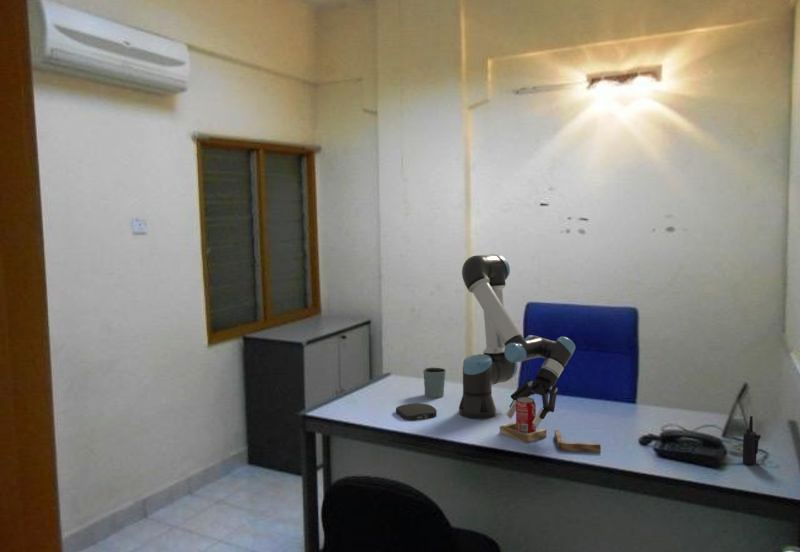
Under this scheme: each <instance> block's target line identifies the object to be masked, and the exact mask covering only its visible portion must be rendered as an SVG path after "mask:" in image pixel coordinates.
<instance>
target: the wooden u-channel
mask: <svg viewBox="0 0 800 552" xmlns="http://www.w3.org/2000/svg"><path fill="white" fill-rule="evenodd" d="M499 434H501V435H504V436H506V437H509V438H512V439H514V440H516V441H520V442H522V443H525V444H527V443H531V442H534V441H536V440H539V439H543V438H546V437H547V429H545V428H540V429H538V430H536V431H534V432H531V433H528V434H524V433H522V432H519V431H516V421H514V422H510V423H507V424H503V425H500V426H499Z"/></svg>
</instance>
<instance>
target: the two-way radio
mask: <svg viewBox="0 0 800 552" xmlns="http://www.w3.org/2000/svg"><path fill="white" fill-rule="evenodd" d="M753 421H754V420H753V416H752V415H750V416H749V424H748V428H746V431H745V432H743V439H742V441H743V442H742V463H743V464H746V465H754V464H756V463H757V455H758V452H759V442H760V439H761V437H762V436H761V434H757V432H755V431H753V430H754V429H753V428H754V427H753V425H754V424H753V423H754V422H753Z"/></svg>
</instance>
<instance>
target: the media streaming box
mask: <svg viewBox="0 0 800 552" xmlns="http://www.w3.org/2000/svg"><path fill="white" fill-rule="evenodd" d="M437 411H438V410H437V409H436V408H435V407H434V406H432V405H431V404H427V403H419V402H415V403H414V402H413V403H412V402H411V403H406V404H401V405H398V406H396V408H395V413H396V415H398V416H399V417H400V418H401V419H403V420H406V421H418V420H426V419H427V420H429V419H434V418H435V417H437V413H438V412H437Z"/></svg>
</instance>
